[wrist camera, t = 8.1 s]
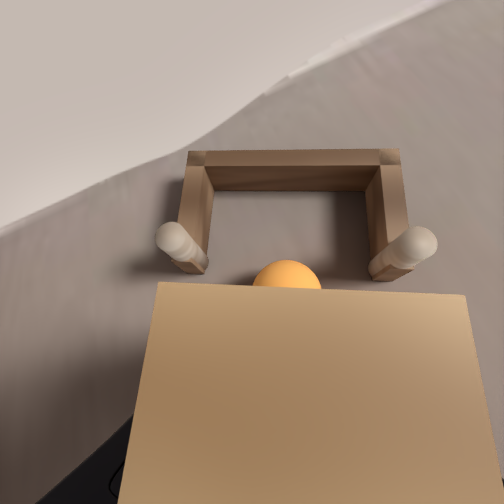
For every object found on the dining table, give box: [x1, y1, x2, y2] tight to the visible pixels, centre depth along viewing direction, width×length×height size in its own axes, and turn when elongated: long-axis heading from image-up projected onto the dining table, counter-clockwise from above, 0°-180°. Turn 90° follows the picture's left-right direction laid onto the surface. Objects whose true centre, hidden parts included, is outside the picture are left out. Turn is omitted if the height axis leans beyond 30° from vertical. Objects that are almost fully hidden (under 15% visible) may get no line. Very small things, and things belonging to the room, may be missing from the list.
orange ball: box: [253, 260, 321, 289], centre depth 15 cm, size 4×4×4 cm
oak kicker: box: [118, 282, 504, 504], centre depth 9 cm, size 4×4×12 cm
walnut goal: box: [155, 149, 437, 281], centre depth 17 cm, size 8×14×5 cm, turn 86°
